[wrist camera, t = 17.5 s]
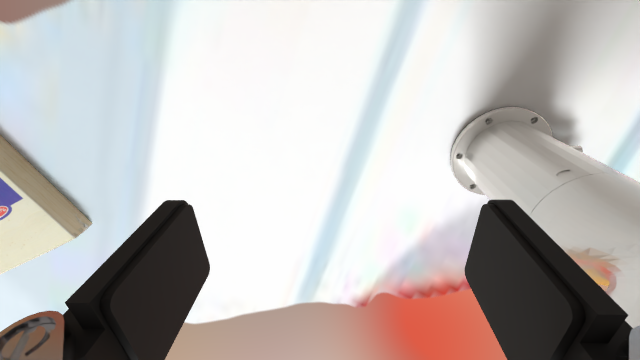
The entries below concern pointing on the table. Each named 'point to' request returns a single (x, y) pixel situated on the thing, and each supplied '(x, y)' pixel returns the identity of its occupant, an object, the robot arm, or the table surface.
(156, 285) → the robot arm
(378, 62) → the table surface
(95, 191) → the table surface
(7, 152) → the puzzle box
